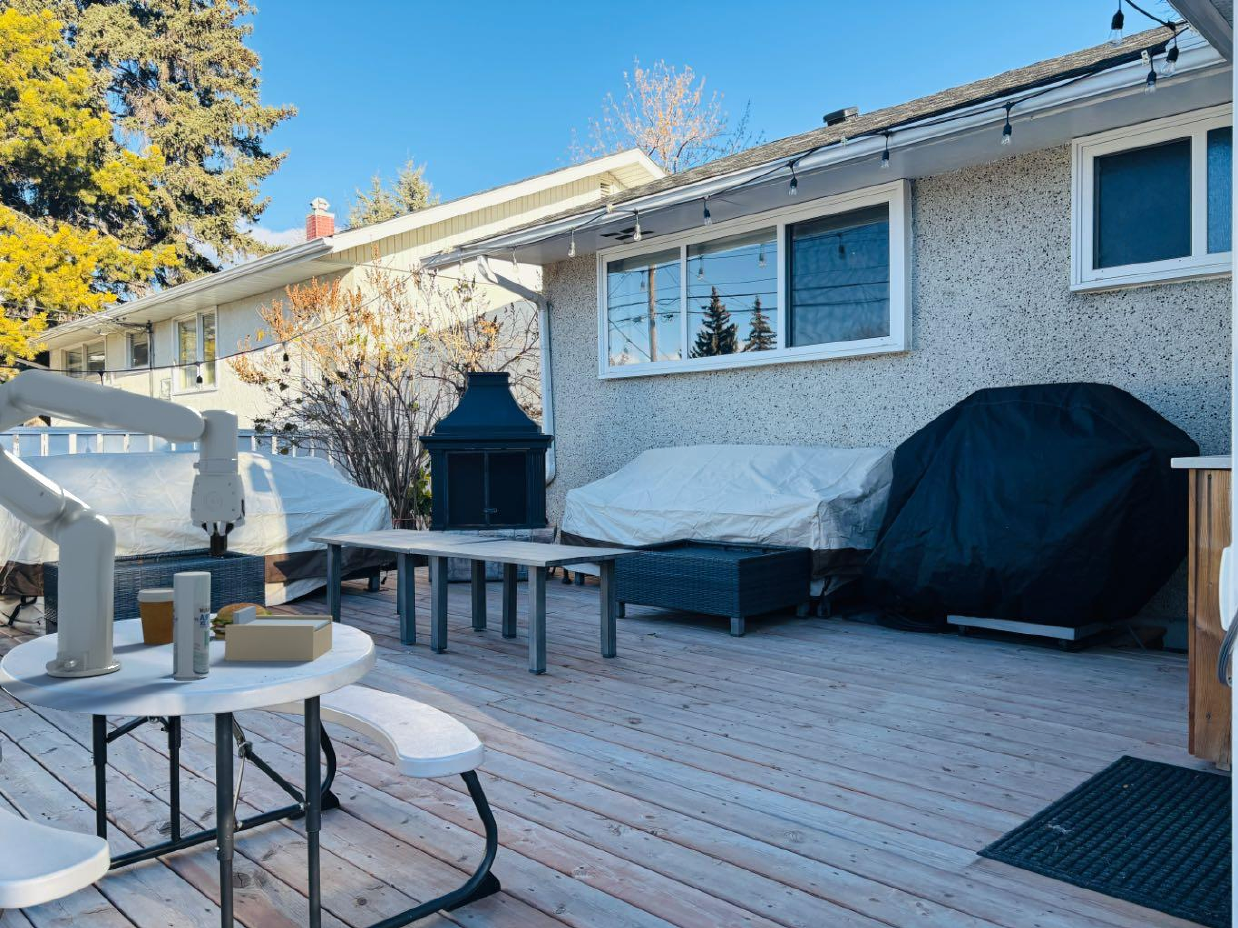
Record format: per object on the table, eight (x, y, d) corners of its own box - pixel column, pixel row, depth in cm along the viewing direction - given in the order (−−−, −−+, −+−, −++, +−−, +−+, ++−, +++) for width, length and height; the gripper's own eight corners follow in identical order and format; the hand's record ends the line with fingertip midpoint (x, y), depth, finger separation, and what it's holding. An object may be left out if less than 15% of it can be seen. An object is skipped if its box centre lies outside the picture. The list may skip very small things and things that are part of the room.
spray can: (180, 673, 179) (181, 571, 179) (214, 673, 179) (216, 571, 179) (166, 681, 172) (167, 575, 172) (201, 681, 173) (203, 575, 173)
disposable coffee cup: (169, 646, 206) (169, 593, 206) (127, 646, 206) (128, 592, 206) (190, 638, 215) (190, 587, 215) (150, 638, 215) (150, 587, 215)
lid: (314, 631, 189) (314, 613, 189) (228, 630, 189) (228, 613, 189) (329, 622, 200) (329, 606, 200) (248, 622, 200) (248, 605, 200)
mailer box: (312, 664, 188) (313, 625, 188) (224, 664, 188) (225, 625, 188) (331, 652, 201) (332, 615, 201) (249, 651, 201) (249, 615, 201)
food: (235, 644, 209) (236, 609, 209) (198, 638, 217) (199, 604, 217) (286, 635, 221) (286, 602, 221) (249, 629, 228) (250, 597, 228)
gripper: (175, 468, 191) (175, 556, 191) (247, 468, 191) (247, 556, 191) (191, 467, 198) (191, 552, 198) (260, 468, 198) (260, 552, 198)
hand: (218, 554), depth 194 cm, fingers closed
